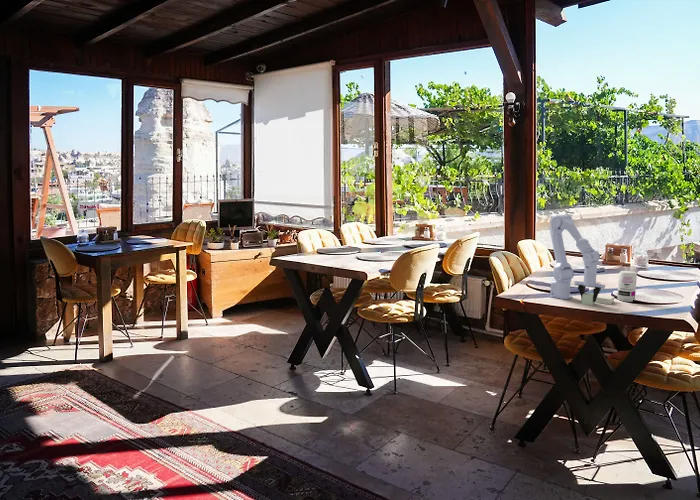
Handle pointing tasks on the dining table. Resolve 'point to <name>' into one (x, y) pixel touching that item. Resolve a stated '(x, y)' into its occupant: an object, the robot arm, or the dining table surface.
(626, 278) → the supplement can
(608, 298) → the cream box
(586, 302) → the green cube
